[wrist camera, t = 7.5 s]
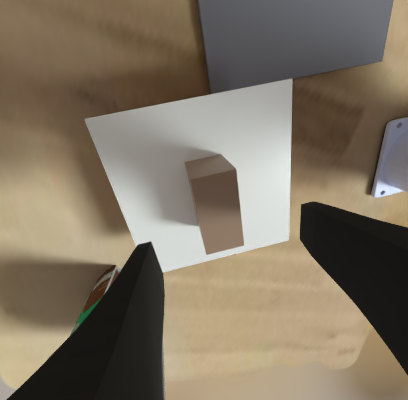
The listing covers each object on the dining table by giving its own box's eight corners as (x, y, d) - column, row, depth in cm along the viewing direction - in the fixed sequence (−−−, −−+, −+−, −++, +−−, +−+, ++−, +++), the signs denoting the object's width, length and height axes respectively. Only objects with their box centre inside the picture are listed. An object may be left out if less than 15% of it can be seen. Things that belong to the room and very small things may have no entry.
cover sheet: (287, 79, 13) (331, 72, 9) (285, 236, 18) (312, 267, 15) (87, 118, 12) (57, 125, 8) (148, 270, 17) (145, 312, 14)
